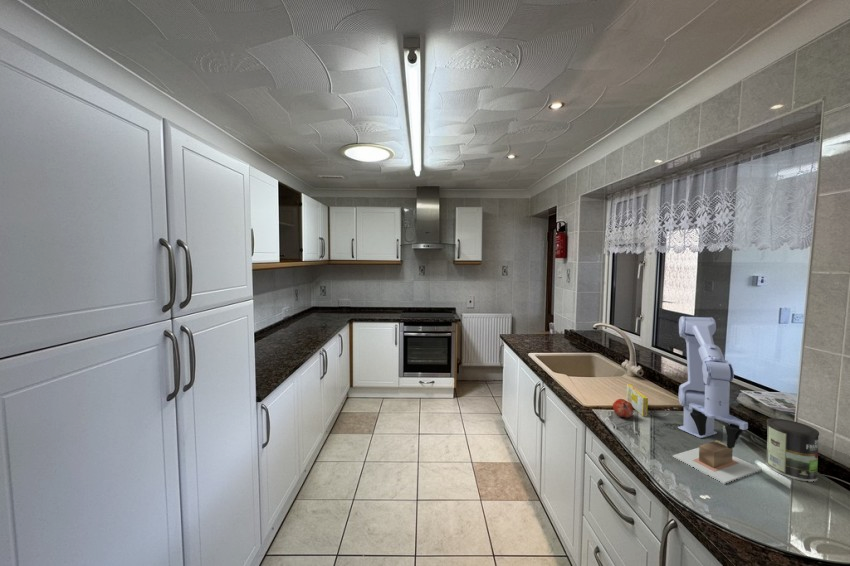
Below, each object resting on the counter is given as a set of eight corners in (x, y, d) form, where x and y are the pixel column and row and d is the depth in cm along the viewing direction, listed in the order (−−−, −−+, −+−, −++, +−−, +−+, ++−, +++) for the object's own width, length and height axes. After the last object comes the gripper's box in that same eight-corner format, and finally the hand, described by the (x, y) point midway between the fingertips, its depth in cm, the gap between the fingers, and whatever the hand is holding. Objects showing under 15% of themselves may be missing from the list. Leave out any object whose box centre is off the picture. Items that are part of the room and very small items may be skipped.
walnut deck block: (698, 460, 100) (699, 445, 100) (717, 455, 103) (717, 440, 102) (713, 468, 96) (714, 452, 96) (732, 462, 99) (732, 446, 99)
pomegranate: (610, 416, 136) (612, 410, 129) (612, 400, 139) (614, 393, 132) (631, 422, 132) (633, 417, 125) (632, 406, 135) (635, 399, 128)
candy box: (648, 417, 131) (648, 398, 130) (642, 417, 131) (642, 397, 131) (630, 401, 147) (631, 384, 146) (625, 401, 147) (626, 383, 147)
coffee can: (823, 476, 93) (825, 429, 92) (809, 486, 88) (810, 438, 88) (774, 457, 102) (775, 415, 101) (759, 465, 98) (760, 422, 97)
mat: (708, 446, 109) (708, 444, 109) (761, 470, 96) (761, 468, 96) (672, 457, 103) (672, 455, 103) (724, 484, 90) (724, 482, 90)
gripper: (682, 392, 104) (682, 432, 105) (737, 411, 90) (736, 456, 91) (697, 389, 106) (696, 428, 107) (752, 407, 93) (751, 451, 93)
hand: (715, 440), depth 99 cm, fingers open, 7 cm apart
